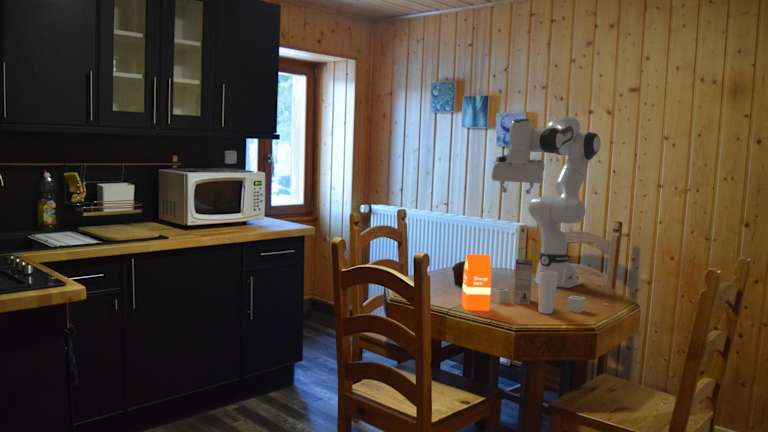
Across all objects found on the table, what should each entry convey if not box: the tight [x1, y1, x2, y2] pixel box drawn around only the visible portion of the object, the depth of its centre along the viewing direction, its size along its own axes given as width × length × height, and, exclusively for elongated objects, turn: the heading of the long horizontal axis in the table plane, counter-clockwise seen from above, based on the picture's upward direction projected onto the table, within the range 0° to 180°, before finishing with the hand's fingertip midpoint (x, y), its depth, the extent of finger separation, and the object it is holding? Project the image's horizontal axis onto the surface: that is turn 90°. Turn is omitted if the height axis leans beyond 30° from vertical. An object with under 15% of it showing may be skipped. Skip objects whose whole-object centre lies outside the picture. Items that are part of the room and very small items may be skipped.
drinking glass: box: [537, 271, 558, 315], centre depth 238 cm, size 7×7×15 cm
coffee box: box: [513, 258, 533, 305], centre depth 254 cm, size 9×6×16 cm
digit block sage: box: [490, 287, 511, 305], centre depth 253 cm, size 5×5×5 cm
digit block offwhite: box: [566, 295, 586, 314], centre depth 243 cm, size 5×5×5 cm
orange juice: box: [461, 253, 493, 312], centre depth 240 cm, size 8×9×20 cm
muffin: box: [451, 260, 466, 288], centre depth 282 cm, size 12×11×10 cm
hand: (516, 193), depth 262 cm, fingers open, 8 cm apart
